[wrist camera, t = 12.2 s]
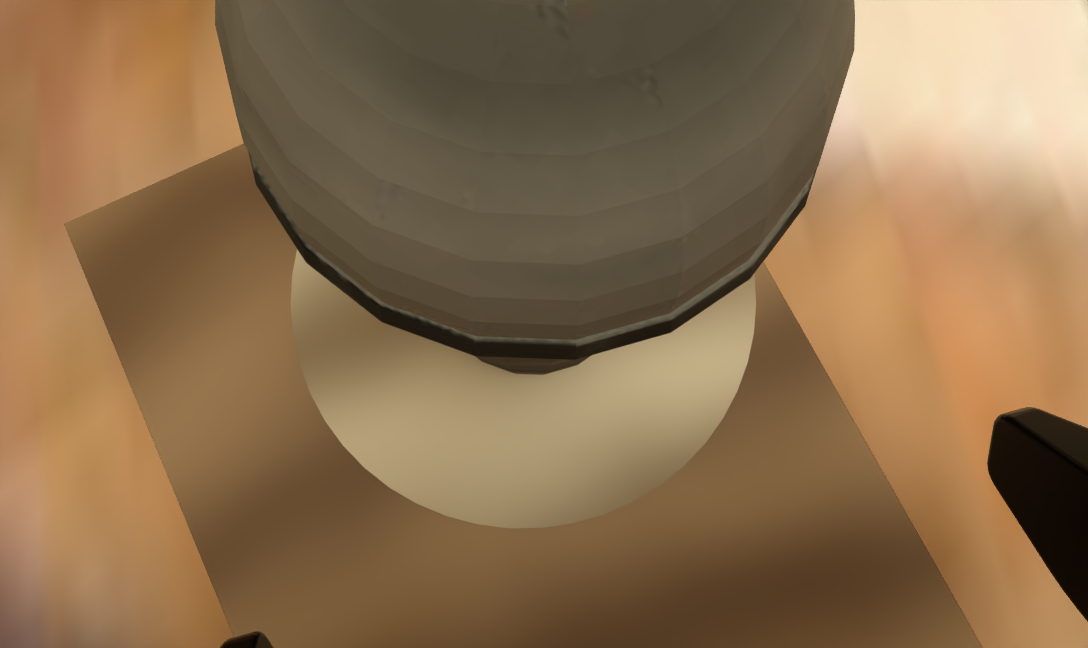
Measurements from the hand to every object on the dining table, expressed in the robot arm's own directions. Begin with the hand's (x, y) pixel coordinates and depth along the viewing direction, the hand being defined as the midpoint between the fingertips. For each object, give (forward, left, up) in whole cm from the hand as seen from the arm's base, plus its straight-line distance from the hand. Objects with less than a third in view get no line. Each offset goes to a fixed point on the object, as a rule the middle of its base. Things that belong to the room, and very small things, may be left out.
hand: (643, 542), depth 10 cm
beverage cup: (+6, -1, -11) cm, 12 cm away
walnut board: (+3, +1, -12) cm, 12 cm away
